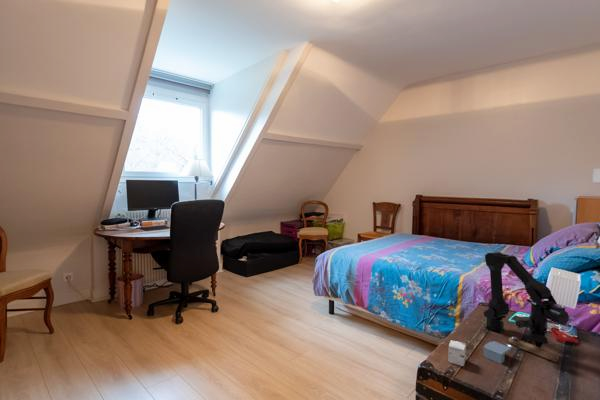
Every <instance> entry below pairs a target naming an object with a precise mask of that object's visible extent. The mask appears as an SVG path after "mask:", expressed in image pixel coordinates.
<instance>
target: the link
mask: <svg viewBox="0 0 600 400" xmlns="http://www.w3.org/2000/svg"><path fill="white" fill-rule="evenodd" d="M508 341H509V344H510V345H512V346H515V347H519V348H521V350H524V351H527V352H530V353H532V354H534V355H536V356H540V357H542V358H544V359H547V360H549V361H551V362H554V363H556V362H557V361H559V354H558V353H555V352H553V351H550V350H547V349H544V348H542V347H541V348H539V347H537V346H536V345H533V344H531V343H529V342H526V341H523V340H521V339H519V338H518V340H513V339H512V336H511V337H509V338H508Z"/></svg>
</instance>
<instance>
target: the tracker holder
mask: <svg viewBox="0 0 600 400" xmlns="http://www.w3.org/2000/svg"><path fill="white" fill-rule="evenodd" d="M549 329H550V332H551V335H552V336H553V338H554V339H555V340H556V341H557V342H559V343H564V342H570V343H573V344H579V340H578V339H577V338H576V337H575V336H573V335H572V334H570V333H568V332H565V331H561V329H560V328H558V327H556V326H550V327H549Z"/></svg>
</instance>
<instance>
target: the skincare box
mask: <svg viewBox="0 0 600 400" xmlns="http://www.w3.org/2000/svg"><path fill="white" fill-rule="evenodd" d="M466 351H467V343H465V342H461V341H456V340H452V339H451V340H450V342H449V344H448V355H447V356H448V363H451V364H453V365H458V366H461V367H464V366H465V363H466V360H467V359H466V358H467V355H466V354H467V352H466Z"/></svg>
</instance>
